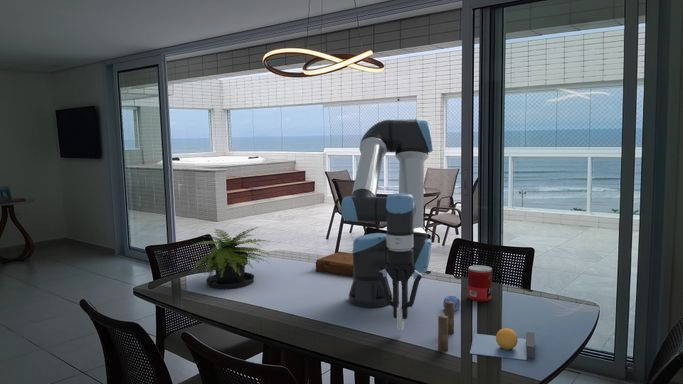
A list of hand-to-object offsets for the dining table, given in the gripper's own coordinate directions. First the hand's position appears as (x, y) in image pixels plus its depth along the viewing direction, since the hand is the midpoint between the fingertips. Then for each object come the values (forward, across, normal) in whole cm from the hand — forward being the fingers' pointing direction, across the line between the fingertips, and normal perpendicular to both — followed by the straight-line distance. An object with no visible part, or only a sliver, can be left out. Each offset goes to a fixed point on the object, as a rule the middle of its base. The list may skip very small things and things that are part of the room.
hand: (400, 329), depth 148 cm
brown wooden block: (+3, -37, +66) cm, 76 cm away
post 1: (+2, +13, -6) cm, 15 cm away
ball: (-1, +29, -1) cm, 29 cm away
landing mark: (+2, +27, 0) cm, 27 cm away
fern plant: (+2, -77, +35) cm, 85 cm away
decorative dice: (+2, +11, +27) cm, 29 cm away
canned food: (+2, +19, +41) cm, 45 cm away
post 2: (+2, +13, +6) cm, 15 cm away
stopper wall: (+2, +35, 0) cm, 35 cm away
